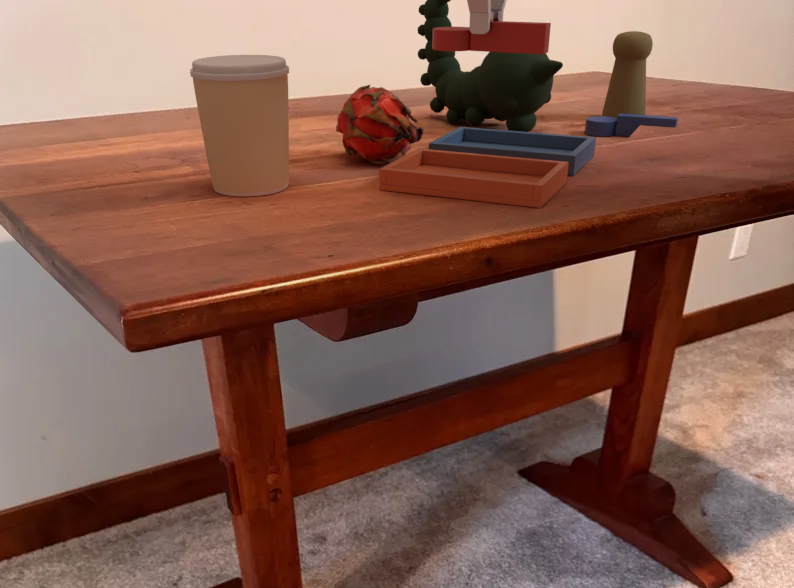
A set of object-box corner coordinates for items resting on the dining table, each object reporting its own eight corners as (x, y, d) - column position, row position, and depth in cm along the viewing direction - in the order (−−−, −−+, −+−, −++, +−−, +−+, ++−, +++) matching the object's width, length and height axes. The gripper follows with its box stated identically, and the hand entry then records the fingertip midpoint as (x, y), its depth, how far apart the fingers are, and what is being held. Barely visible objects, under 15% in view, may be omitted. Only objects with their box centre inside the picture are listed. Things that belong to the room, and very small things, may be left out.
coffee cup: (308, 177, 85) (301, 54, 79) (278, 201, 77) (267, 67, 71) (226, 173, 87) (213, 53, 81) (189, 196, 79) (171, 65, 73)
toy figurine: (406, 130, 114) (533, 142, 96) (398, -19, 106) (535, -37, 88) (456, 122, 119) (585, 132, 101) (452, -22, 111) (593, -39, 92)
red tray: (566, 182, 82) (568, 161, 81) (540, 208, 74) (542, 185, 73) (418, 167, 88) (418, 148, 87) (379, 190, 80) (379, 168, 79)
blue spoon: (676, 136, 101) (679, 115, 100) (671, 142, 98) (675, 121, 97) (588, 129, 106) (590, 109, 104) (581, 135, 102) (583, 114, 101)
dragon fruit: (356, 160, 98) (407, 197, 90) (305, 125, 92) (355, 161, 84) (395, 99, 96) (450, 131, 88) (346, 59, 90) (401, 89, 82)
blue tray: (594, 155, 92) (596, 137, 91) (573, 175, 84) (575, 155, 83) (459, 144, 98) (459, 126, 97) (428, 162, 90) (428, 142, 89)
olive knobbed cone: (623, 123, 109) (635, 34, 103) (592, 116, 113) (601, 31, 108) (654, 118, 111) (667, 32, 106) (622, 112, 116) (633, 28, 110)
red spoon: (551, 51, 75) (554, 21, 74) (540, 55, 72) (542, 25, 71) (441, 46, 79) (442, 18, 78) (425, 50, 76) (426, 21, 75)
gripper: (491, -161, 59) (481, 44, 66) (561, -139, 75) (547, 24, 82) (413, -157, 61) (411, 41, 68) (496, -136, 77) (488, 22, 84)
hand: (486, 32), depth 75 cm, fingers closed on red spoon, 1 cm apart
